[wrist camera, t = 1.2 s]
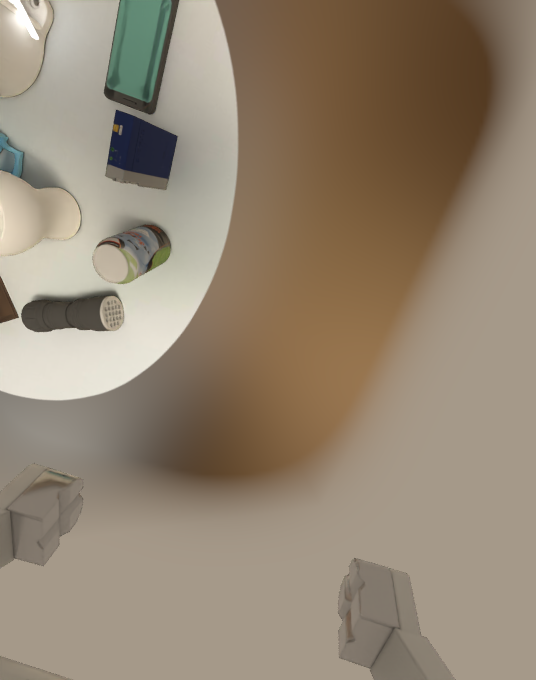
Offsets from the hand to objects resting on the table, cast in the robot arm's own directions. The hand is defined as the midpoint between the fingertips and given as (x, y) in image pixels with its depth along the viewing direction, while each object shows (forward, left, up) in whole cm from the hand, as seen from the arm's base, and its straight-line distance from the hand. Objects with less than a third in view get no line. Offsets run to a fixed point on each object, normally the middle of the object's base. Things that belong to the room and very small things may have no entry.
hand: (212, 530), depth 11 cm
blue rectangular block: (-22, -17, -48) cm, 55 cm away
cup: (-20, -37, -47) cm, 63 cm away
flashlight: (-5, -39, -48) cm, 62 cm away
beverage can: (-11, -23, -48) cm, 54 cm away
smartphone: (-36, -15, -48) cm, 61 cm away
